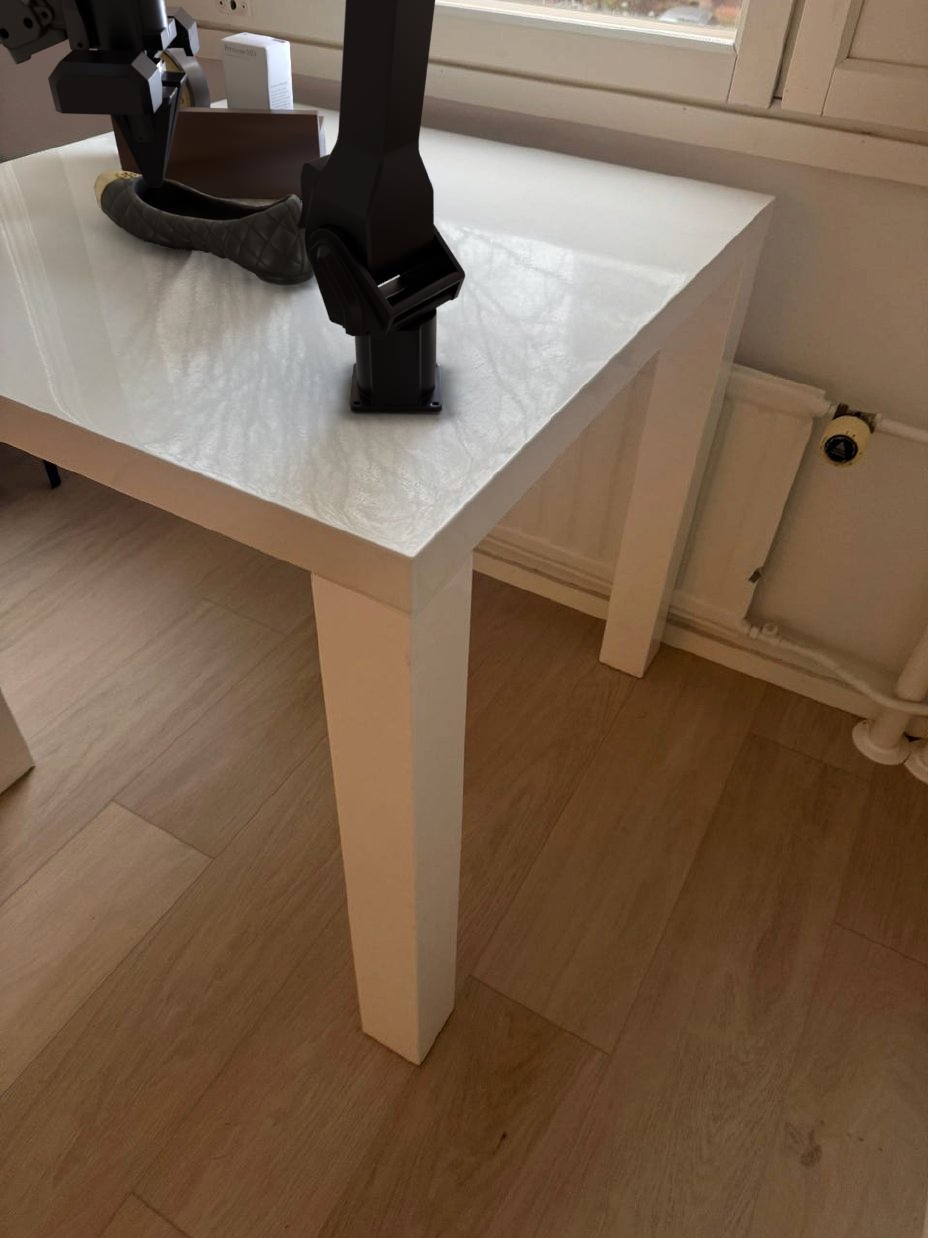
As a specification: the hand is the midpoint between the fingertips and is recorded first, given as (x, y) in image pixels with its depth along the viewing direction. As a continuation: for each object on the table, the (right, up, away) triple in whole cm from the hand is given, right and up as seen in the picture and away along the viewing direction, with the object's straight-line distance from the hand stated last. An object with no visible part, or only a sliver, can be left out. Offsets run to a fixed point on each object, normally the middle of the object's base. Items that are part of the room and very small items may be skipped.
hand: (155, 185), depth 70 cm
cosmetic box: (+1, +18, +33) cm, 37 cm away
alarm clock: (-10, +19, +34) cm, 40 cm away
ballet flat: (0, +1, +15) cm, 15 cm away
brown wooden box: (-1, +13, +27) cm, 30 cm away
